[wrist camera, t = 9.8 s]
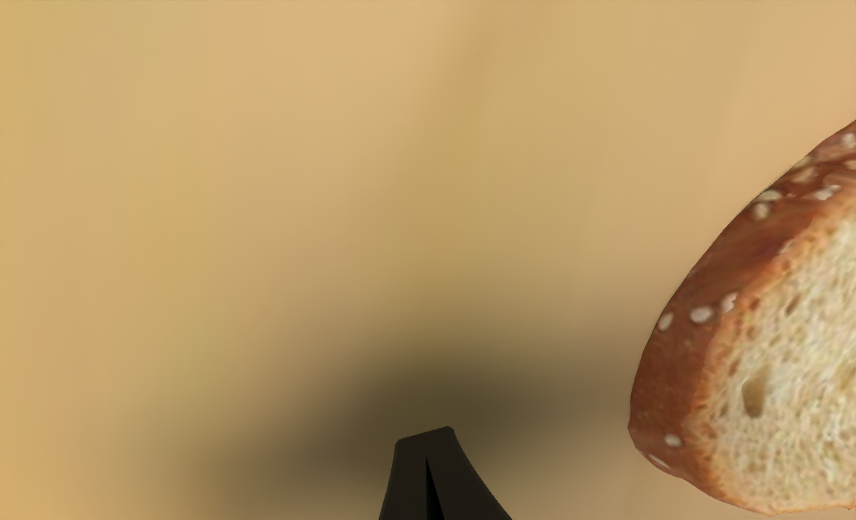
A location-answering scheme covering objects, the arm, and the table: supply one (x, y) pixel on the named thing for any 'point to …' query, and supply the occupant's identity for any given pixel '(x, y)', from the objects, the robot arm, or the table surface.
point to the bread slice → (764, 350)
